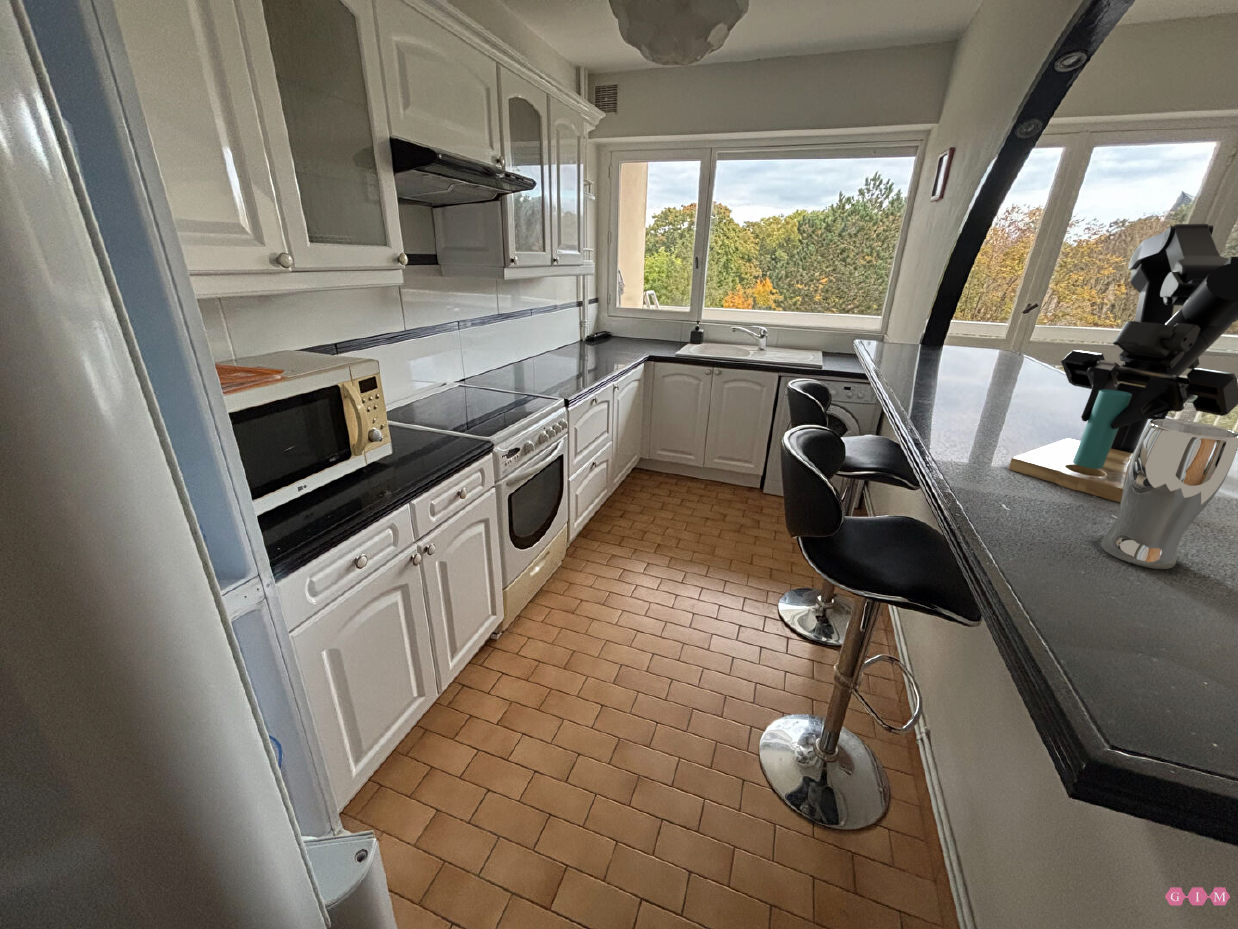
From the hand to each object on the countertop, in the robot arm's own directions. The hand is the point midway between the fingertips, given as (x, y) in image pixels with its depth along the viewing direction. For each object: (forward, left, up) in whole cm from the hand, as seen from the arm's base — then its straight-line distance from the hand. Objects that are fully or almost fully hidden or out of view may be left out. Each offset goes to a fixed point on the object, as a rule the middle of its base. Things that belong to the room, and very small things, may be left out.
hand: (1097, 423), depth 72 cm
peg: (-1, 0, -7) cm, 7 cm away
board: (-7, -1, -9) cm, 12 cm away
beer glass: (+19, +12, -10) cm, 24 cm away
